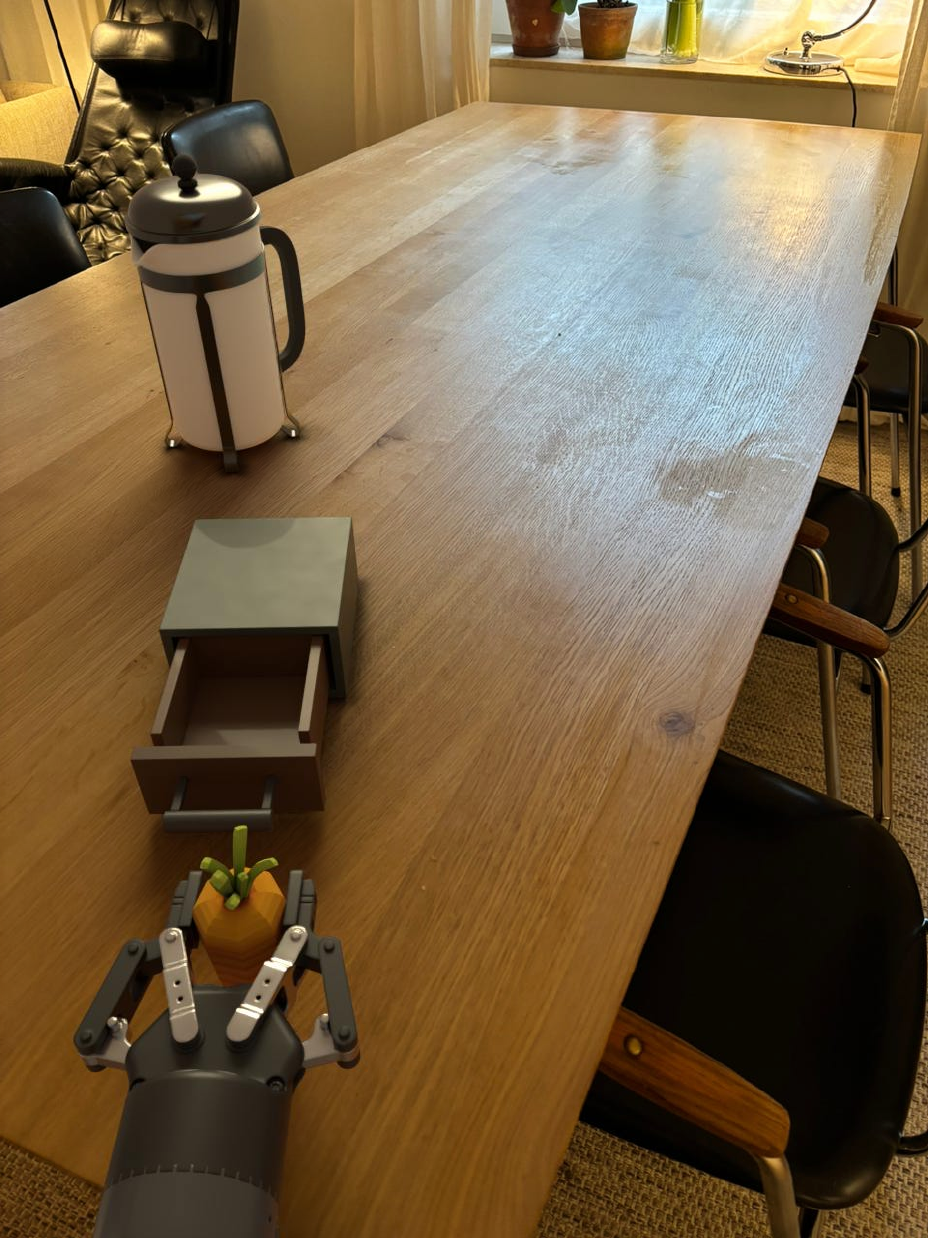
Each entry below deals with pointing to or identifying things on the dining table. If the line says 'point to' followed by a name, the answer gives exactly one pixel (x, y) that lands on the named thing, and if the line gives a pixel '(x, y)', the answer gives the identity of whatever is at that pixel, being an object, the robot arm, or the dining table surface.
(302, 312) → the coffee press
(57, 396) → the dining table surface
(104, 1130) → the dining table surface
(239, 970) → the carrot
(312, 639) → the drawer
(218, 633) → the cabinet
